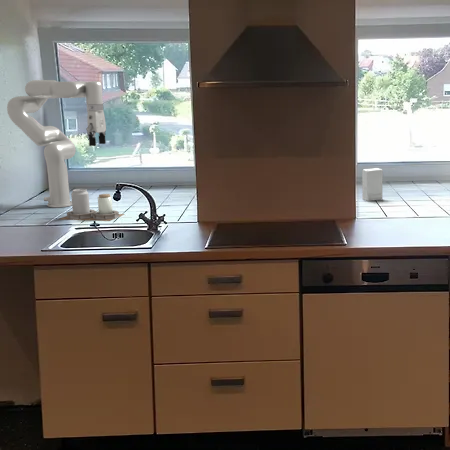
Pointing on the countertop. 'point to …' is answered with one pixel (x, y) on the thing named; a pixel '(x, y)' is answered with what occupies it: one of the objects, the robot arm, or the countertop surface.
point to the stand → (92, 216)
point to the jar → (105, 204)
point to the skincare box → (372, 184)
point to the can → (80, 201)
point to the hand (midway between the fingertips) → (97, 144)
